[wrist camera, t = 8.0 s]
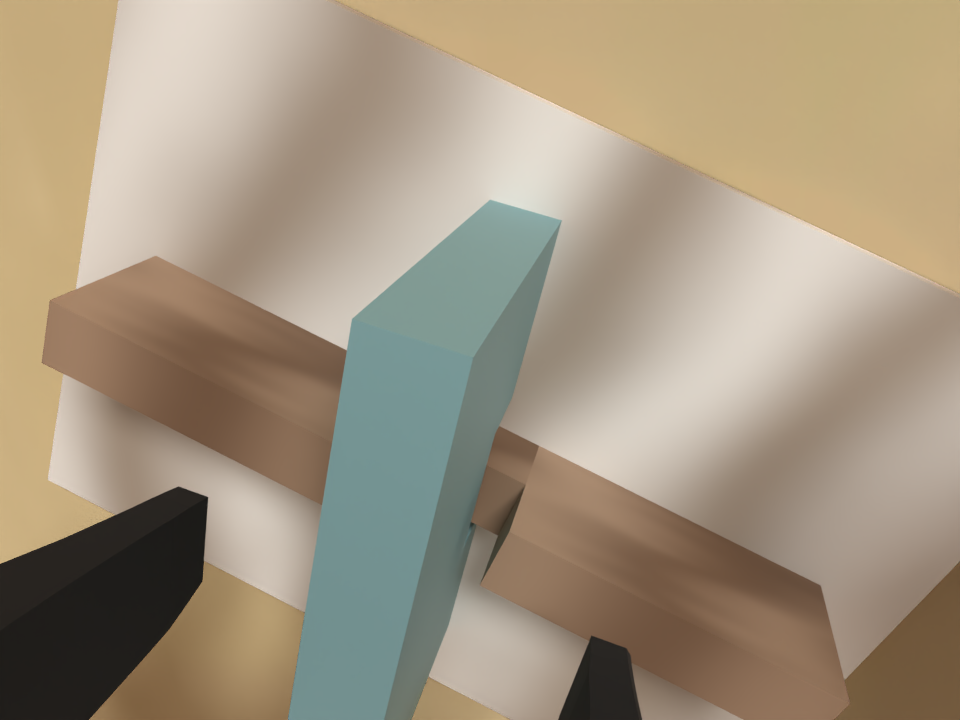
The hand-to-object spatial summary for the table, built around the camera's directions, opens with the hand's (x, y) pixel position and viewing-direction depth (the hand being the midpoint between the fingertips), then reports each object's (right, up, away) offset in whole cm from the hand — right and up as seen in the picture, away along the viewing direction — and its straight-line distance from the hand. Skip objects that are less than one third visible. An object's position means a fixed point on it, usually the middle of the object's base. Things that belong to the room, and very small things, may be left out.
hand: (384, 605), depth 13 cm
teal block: (+1, +2, +5) cm, 6 cm away
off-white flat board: (+2, +2, +6) cm, 7 cm away
